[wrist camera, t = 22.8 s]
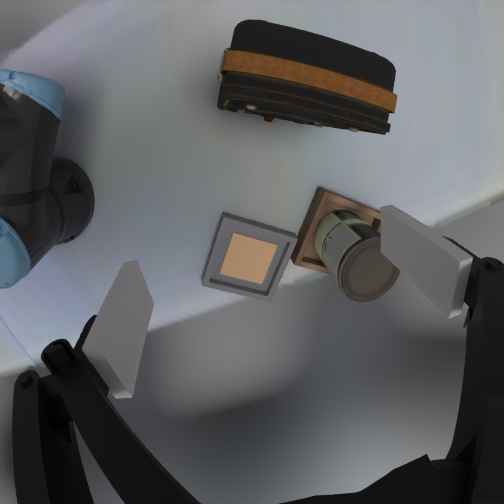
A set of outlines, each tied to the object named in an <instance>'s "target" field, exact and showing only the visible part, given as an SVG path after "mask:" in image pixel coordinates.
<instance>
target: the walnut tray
mask: <svg viewBox="0 0 504 504" xmlns="http://www.w3.org/2000/svg"><path fill="white" fill-rule="evenodd" d="M336 208H345V209H349V210H351V211H353V212H354V213H356V214H357V215H358V216H359V217H360V218H361V219H363V220H364V221H365V222H367V223H368V224H369V225H370V226H372V227H373V228H374V229H376V230H377V231H378V232H380V233H381V212H380V211H378V210H375V209H373V208H371V207H368V206H366V205H363V204H361V203H359V202H356V201H354V200H351V199H349V198H346V197H344V196H341V195H339V194H336V193H334V192H331V191H329V190H326V189H324V188H321V187H318V188H317V191H316V193H315V196H314V198H313V200H312V203H311V205H310V208H309V210H308V213H307V215H306V218H305V220H304V222H303V225H302V227H301V230H300V232H299V234H298V237H297V238H298V240H297V243H296V245H295V247H294V250H293V252H292V255H291V257H290V258H291V260H292V262H293V264H294V265H298V266H301V267H305V268H309V269H312V270H316V271H320V272H323V273H327V274H331V273H330V271H329V270H328V269H327V267H326V266H325V264H324V263H323V261H322V260H321V258H320V257H319V256H318V255H317V254H316V252H315V251H314V249H313V247H312V243H311V238H312V236H313V233H314V231H315V229H316V227H317V224H318V222H319V219H320V217H321V216H322V215H323V214H324V213H326V212H327V211H330V210H332V209H336ZM331 275H332V274H331Z"/></svg>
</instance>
